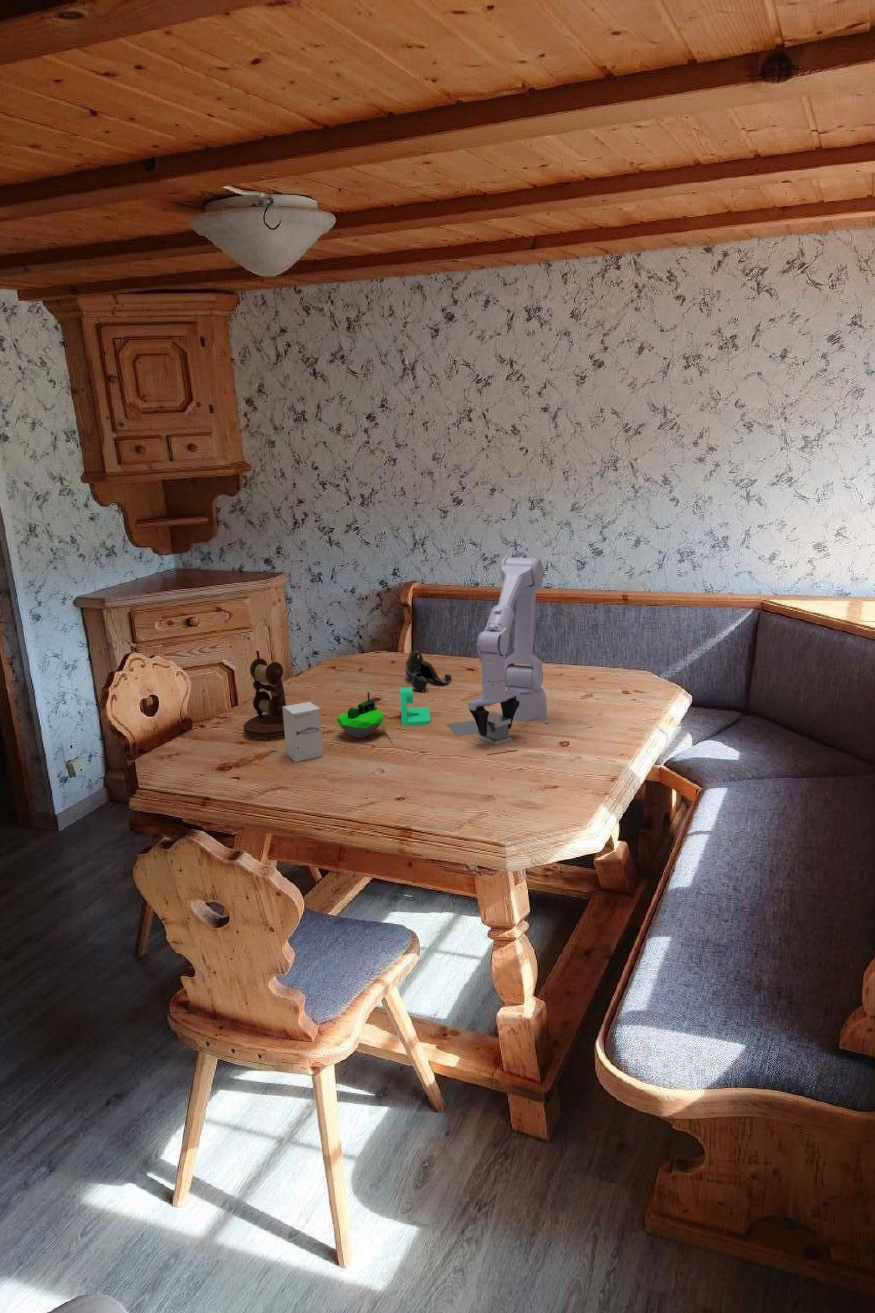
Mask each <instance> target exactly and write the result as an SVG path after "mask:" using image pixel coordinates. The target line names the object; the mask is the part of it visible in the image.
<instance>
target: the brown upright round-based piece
mask: <svg viewBox="0 0 875 1313" xmlns="http://www.w3.org/2000/svg"><path fill="white" fill-rule="evenodd" d="M249 672H250V676H251V677H252V678H253V680H254V681H253V683H252V687H253V688H254V690H255V695H254V696H253V699H252V706H253V709H254V710H255V711H256V714H257V715H256V716H253V717H251V718H249V719H248V721H246V722H245V723H244V724H243V727H242V728H243V732H244V733H245V734H247V735H250V736H254V737H255V736H256V737H266V738H265V739H266V740H267V741H268V742H270V740H271V737H272V736H273V737H274V736H280V735H285V731H284V720H283V708H282V707H283V706H287V703H286V694H285V690H284V689H285V688H284V684H283V680H282V677H283V674H284V668H283V665H282V664H281V663H280V662H278V661H272V662H271V663H269V664H268V662H267V661H266V660H265V658H261V657H259V658H256V659H254V660H253V661H252V663H251V664H250V667H249ZM260 690H265V691H260ZM268 692H270V694H269V693H268ZM264 713H265V714H264Z"/></svg>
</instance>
